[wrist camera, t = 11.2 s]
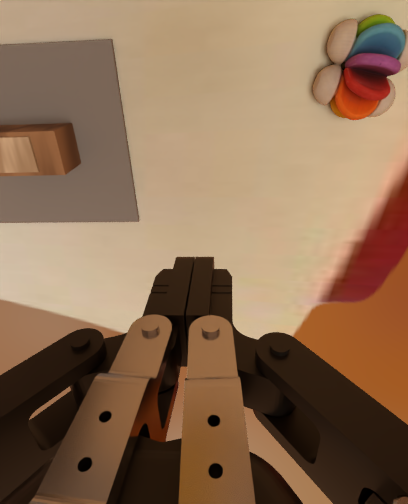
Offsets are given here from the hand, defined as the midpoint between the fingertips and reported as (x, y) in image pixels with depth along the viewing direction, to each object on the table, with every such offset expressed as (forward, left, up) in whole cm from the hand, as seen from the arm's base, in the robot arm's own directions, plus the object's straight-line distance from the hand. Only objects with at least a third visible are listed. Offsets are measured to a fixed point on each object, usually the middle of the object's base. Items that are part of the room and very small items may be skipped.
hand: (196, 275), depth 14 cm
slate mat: (-15, -17, -32) cm, 39 cm away
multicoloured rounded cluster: (+7, +15, -32) cm, 36 cm away
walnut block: (-12, -14, -29) cm, 34 cm away
